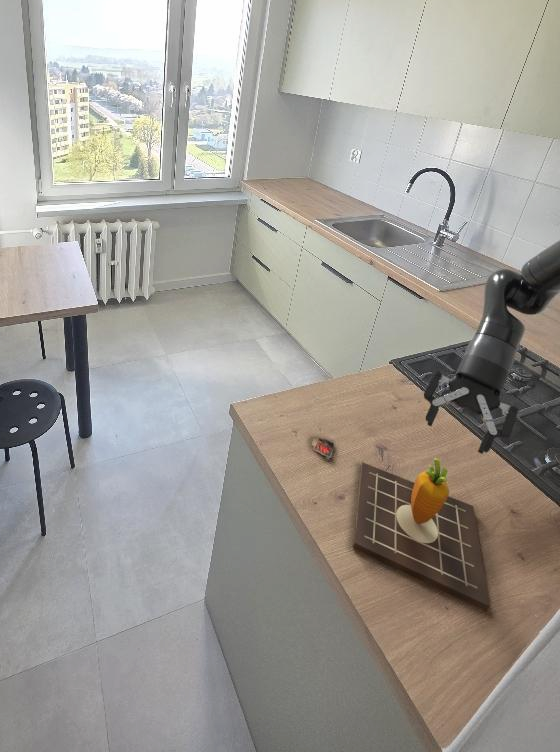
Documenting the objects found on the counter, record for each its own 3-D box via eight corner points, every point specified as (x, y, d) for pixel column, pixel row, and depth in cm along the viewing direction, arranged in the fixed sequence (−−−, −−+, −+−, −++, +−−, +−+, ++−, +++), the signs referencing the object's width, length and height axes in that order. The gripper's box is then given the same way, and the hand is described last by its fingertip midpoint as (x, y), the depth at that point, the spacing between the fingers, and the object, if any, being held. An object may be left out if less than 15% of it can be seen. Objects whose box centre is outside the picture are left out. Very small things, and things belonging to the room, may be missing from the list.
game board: (470, 510, 81) (473, 505, 80) (486, 611, 66) (490, 606, 65) (360, 466, 88) (362, 461, 88) (352, 547, 74) (354, 542, 73)
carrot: (429, 542, 73) (456, 485, 67) (399, 524, 76) (422, 467, 70) (433, 520, 77) (459, 463, 71) (404, 503, 80) (427, 448, 74)
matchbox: (333, 442, 94) (334, 440, 93) (333, 461, 89) (334, 459, 89) (312, 436, 95) (312, 434, 95) (311, 454, 91) (311, 452, 90)
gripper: (446, 341, 84) (412, 414, 81) (535, 377, 75) (501, 461, 72) (445, 350, 89) (414, 419, 86) (528, 385, 80) (496, 463, 77)
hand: (453, 438), depth 79 cm, fingers open, 8 cm apart
